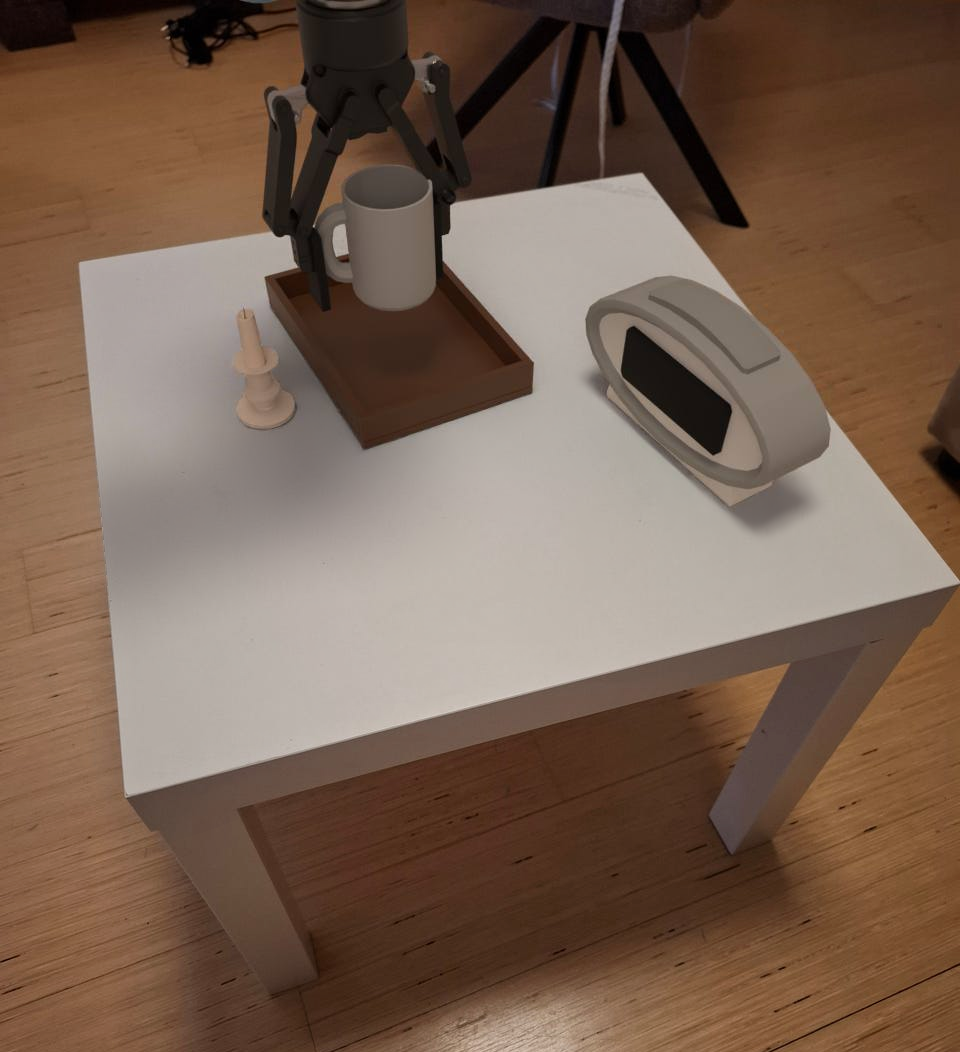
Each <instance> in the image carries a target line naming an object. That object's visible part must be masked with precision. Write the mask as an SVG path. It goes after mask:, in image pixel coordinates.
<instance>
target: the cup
mask: <svg viewBox="0 0 960 1052" xmlns="http://www.w3.org/2000/svg"><path fill="white" fill-rule="evenodd" d="M340 192H341V201H342V202H337V203H333V204H331V205H329V206H327V207H325V209H324V210H323V211H322V212H321V213H320V214H319V215H318V217H316V220H315V223H314V225H313V227H314V228H315V230H316V231H317V232H318V234H319V235H320V236H321V240H322V247H323V254H324V261H325V269H326V274H327V275H328V276H330V277H331V278H333V279H334V280H336V281H339V282H344V283H352V284H353V289H354V292H355V294H356V296H357V297H358V298H359V299H360V300H361V301H362V302H363V303H364V304H366V305H368V306H370V307H372V308H375V309H379V310H384V311H402V310H407V309H411V308H414V307H416V306H419V305H421V304H422V303H424V302H425V301H427V299H428V298H429V297H430V296H431V295H432V293H433V292H434V289H435V286H436V267H435V241H434V216H433V190H432V182H431V180H427V179H426V177H425V176H424V175H423V174H422V173H421V172H420V171H419V170H417V169H416V167H412V166H408V165H403V164H394V163H393V164H392V163H391V164H376V165H370V166H367V167H364V168H361V169H358V170H356V171H354V172H352V173H351V174H349V175H348V176H347V177H346V178H345V179H344V181H343V182H342V184H341V187H340ZM340 225H344V226H345V235H346V243H347V251H348V253H347V254H349V261H350V262H348V263H342V262H339V261H338V259H337V257H338V256H337V255H336V252H335V249H334V242H333V239H334V232H335V229H336V227H338V226H340Z"/></svg>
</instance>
